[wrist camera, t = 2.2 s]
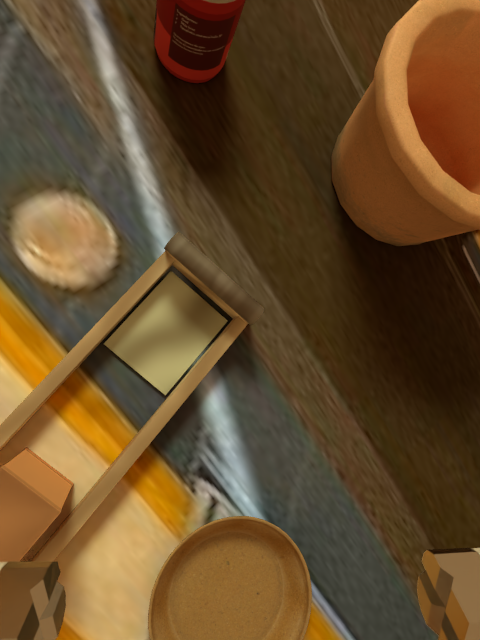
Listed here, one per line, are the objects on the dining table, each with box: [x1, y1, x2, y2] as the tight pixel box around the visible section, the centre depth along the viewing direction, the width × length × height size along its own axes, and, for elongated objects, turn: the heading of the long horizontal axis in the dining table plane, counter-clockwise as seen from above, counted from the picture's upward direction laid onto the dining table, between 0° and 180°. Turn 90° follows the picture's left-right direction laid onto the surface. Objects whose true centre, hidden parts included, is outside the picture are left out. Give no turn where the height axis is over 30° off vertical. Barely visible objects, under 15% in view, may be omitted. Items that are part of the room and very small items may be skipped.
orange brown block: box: [0, 448, 73, 562], centre depth 32 cm, size 5×5×8 cm
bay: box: [0, 232, 265, 562], centre depth 36 cm, size 10×32×5 cm, turn 141°
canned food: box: [154, 0, 245, 83], centre depth 40 cm, size 8×8×11 cm
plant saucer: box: [148, 516, 312, 640], centre depth 38 cm, size 15×15×3 cm
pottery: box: [331, 0, 480, 246], centre depth 43 cm, size 22×22×14 cm
